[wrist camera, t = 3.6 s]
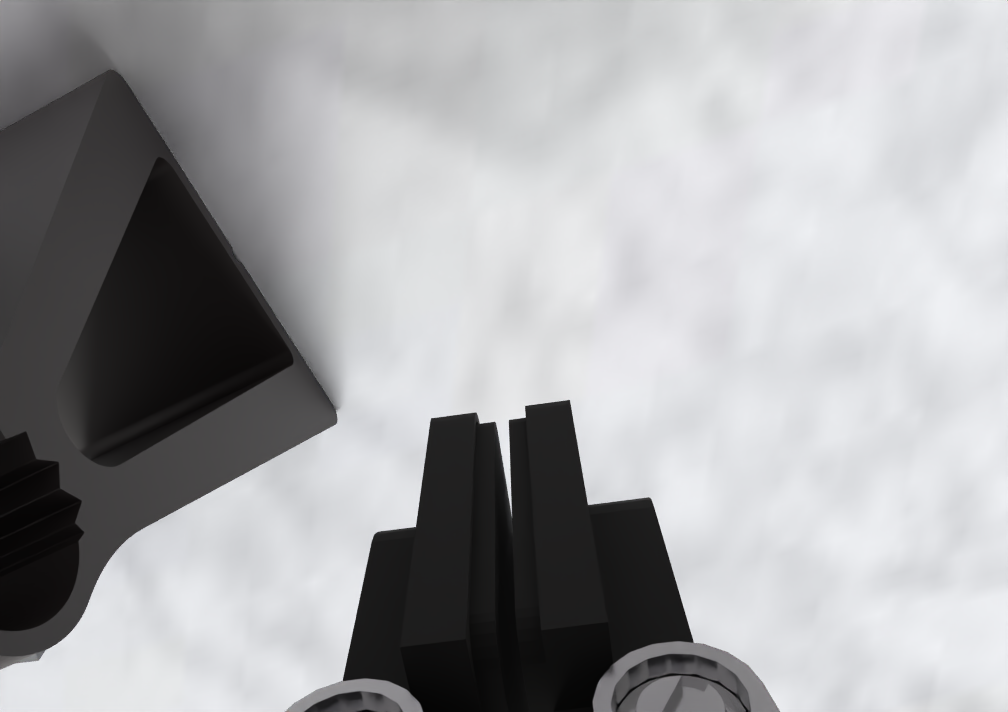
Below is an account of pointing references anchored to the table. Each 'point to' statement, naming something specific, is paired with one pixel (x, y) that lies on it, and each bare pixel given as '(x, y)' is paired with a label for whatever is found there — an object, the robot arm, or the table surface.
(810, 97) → the table surface
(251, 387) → the phone stand
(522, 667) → the robot arm
